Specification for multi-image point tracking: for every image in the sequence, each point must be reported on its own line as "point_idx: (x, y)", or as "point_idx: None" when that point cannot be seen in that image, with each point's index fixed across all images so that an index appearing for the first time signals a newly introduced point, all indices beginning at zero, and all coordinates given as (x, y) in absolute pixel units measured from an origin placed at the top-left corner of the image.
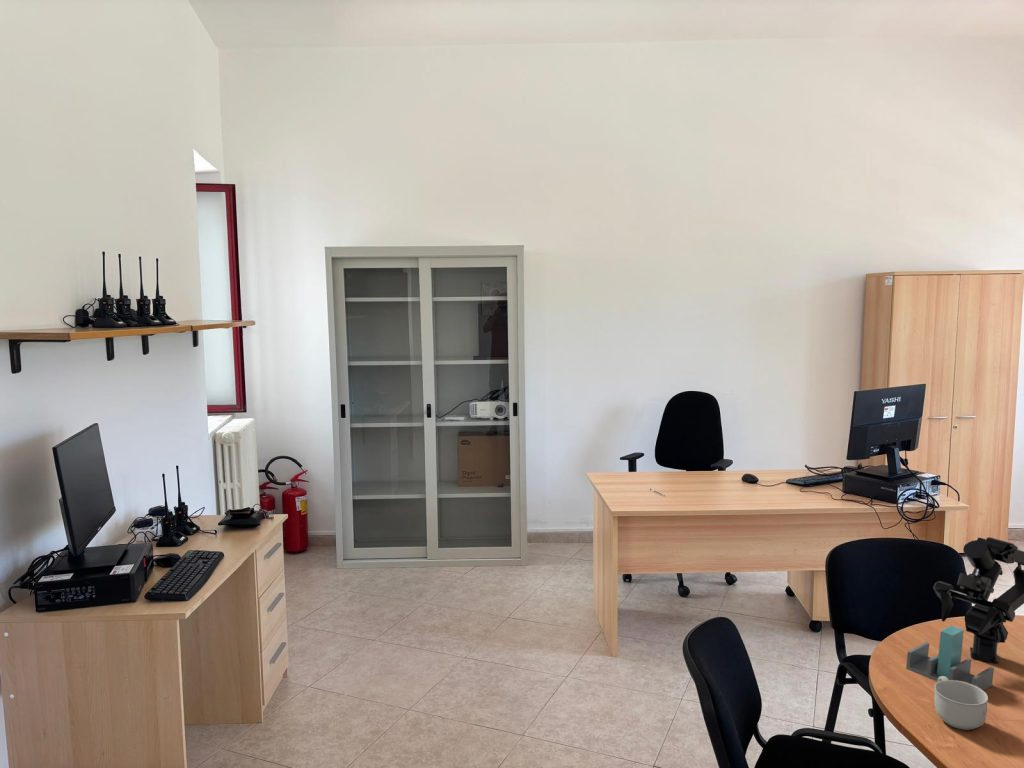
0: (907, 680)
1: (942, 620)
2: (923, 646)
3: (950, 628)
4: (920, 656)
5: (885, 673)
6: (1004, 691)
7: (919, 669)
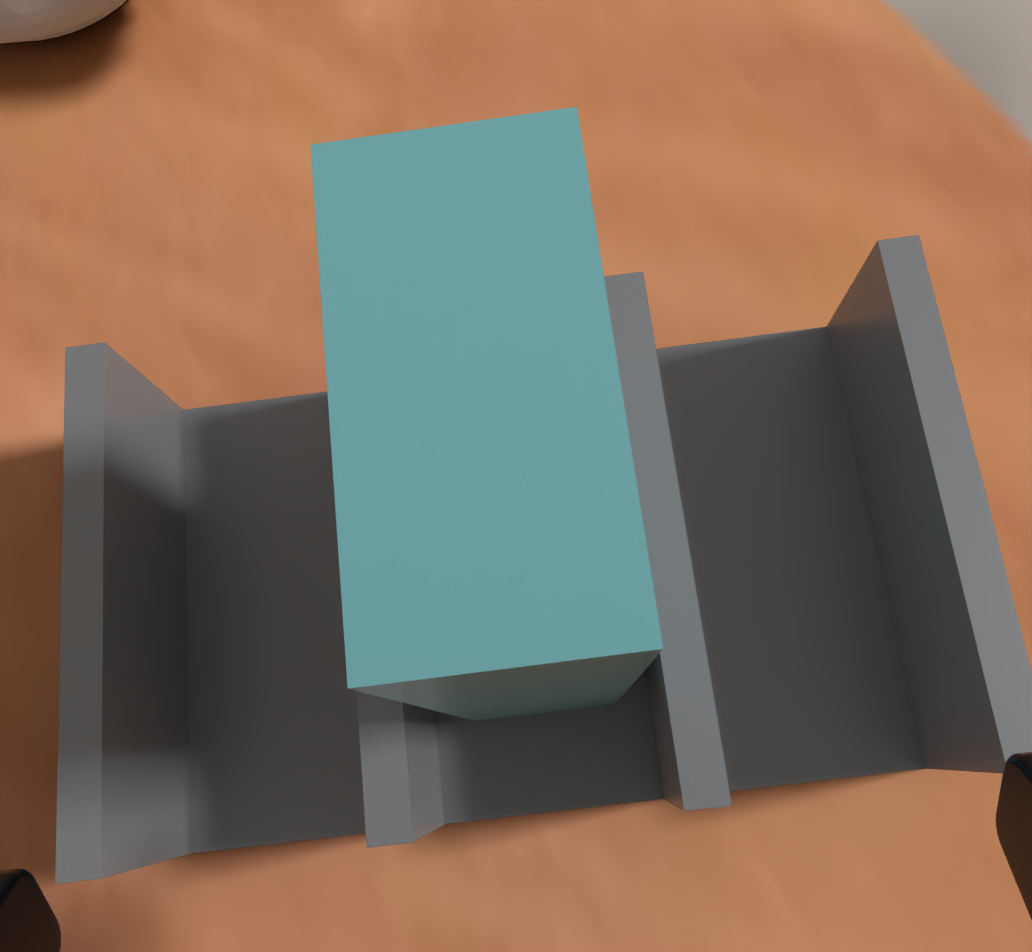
0: (670, 142)
1: (1019, 768)
2: (960, 589)
3: (563, 444)
4: (898, 549)
5: (856, 73)
6: (33, 841)
7: (737, 371)
